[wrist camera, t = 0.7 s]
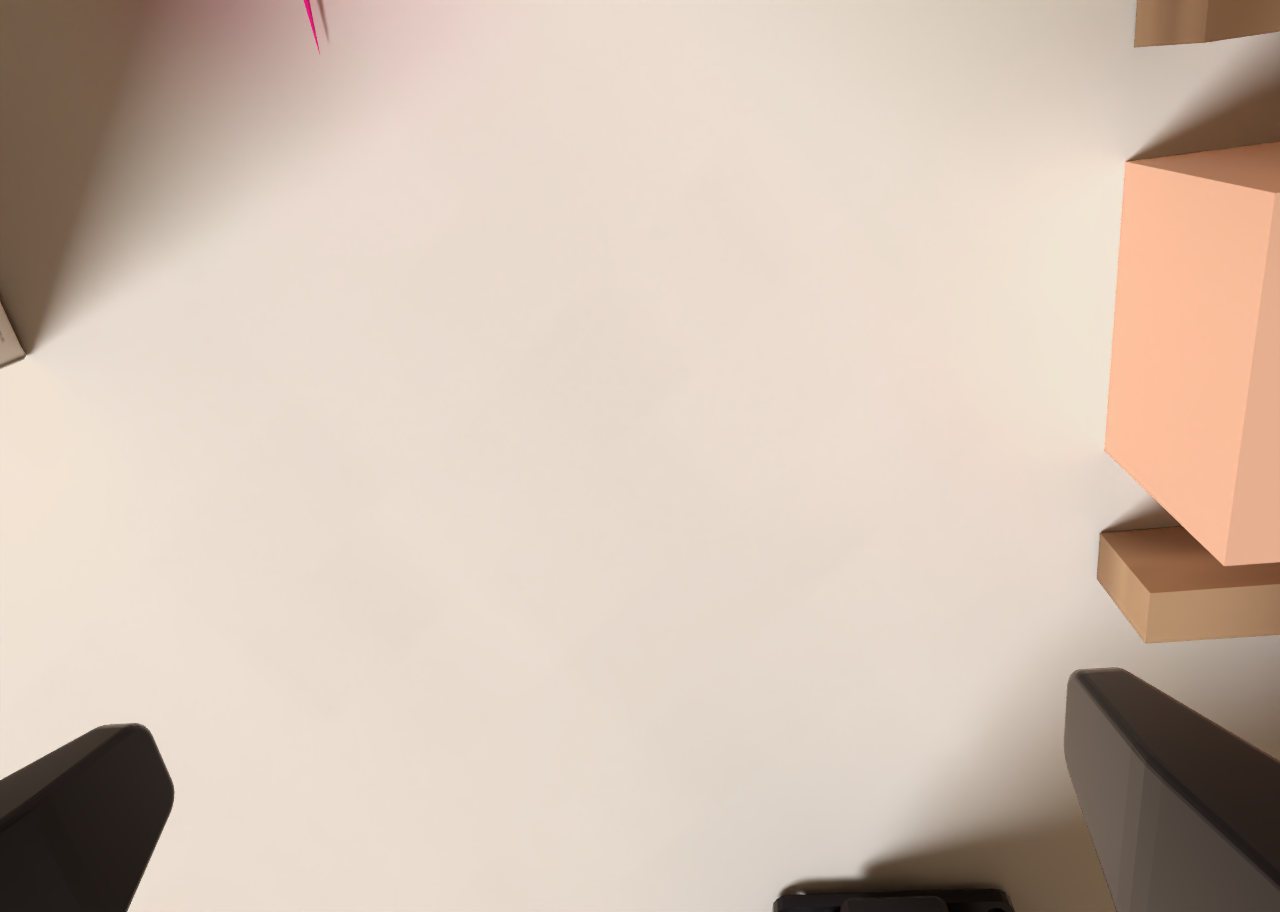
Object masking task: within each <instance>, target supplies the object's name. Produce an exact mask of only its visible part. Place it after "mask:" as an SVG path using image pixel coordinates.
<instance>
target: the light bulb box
mask: <svg viewBox="0 0 1280 912" xmlns="http://www.w3.org/2000/svg"><path fill="white" fill-rule="evenodd" d="M25 357H26V354H25V352H24V351H23V349H22V348H21V346H20V344H19V341H18V339H17V337H16V335H15V333H14V331H13V328H12V326H11V324H10V322H9V320H8V318H7V315H6V313H5V311H4V309H3V307H2V305H1V302H0V369H2V368H4V367H7V366H9V365H12V364H14V363H17V362H19V361H21V360H23V359H24V358H25Z"/></svg>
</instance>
